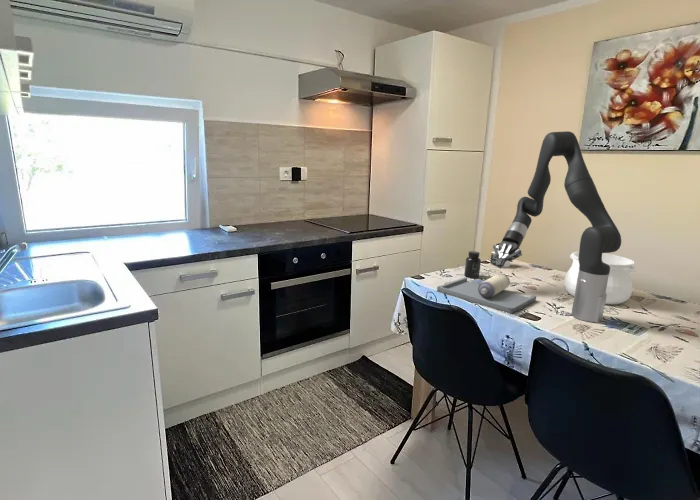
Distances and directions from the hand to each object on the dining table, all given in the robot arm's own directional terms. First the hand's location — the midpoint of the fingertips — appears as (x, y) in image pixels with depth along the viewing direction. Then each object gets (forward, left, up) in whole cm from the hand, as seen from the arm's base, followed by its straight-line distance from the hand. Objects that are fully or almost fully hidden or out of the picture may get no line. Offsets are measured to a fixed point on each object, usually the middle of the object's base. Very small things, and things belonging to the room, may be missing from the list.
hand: (498, 266), depth 168 cm
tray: (0, +9, -11) cm, 14 cm away
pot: (-30, -29, -11) cm, 43 cm away
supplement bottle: (+18, -12, -11) cm, 24 cm away
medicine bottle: (+19, -43, -11) cm, 48 cm away
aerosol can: (0, -4, -7) cm, 8 cm away
